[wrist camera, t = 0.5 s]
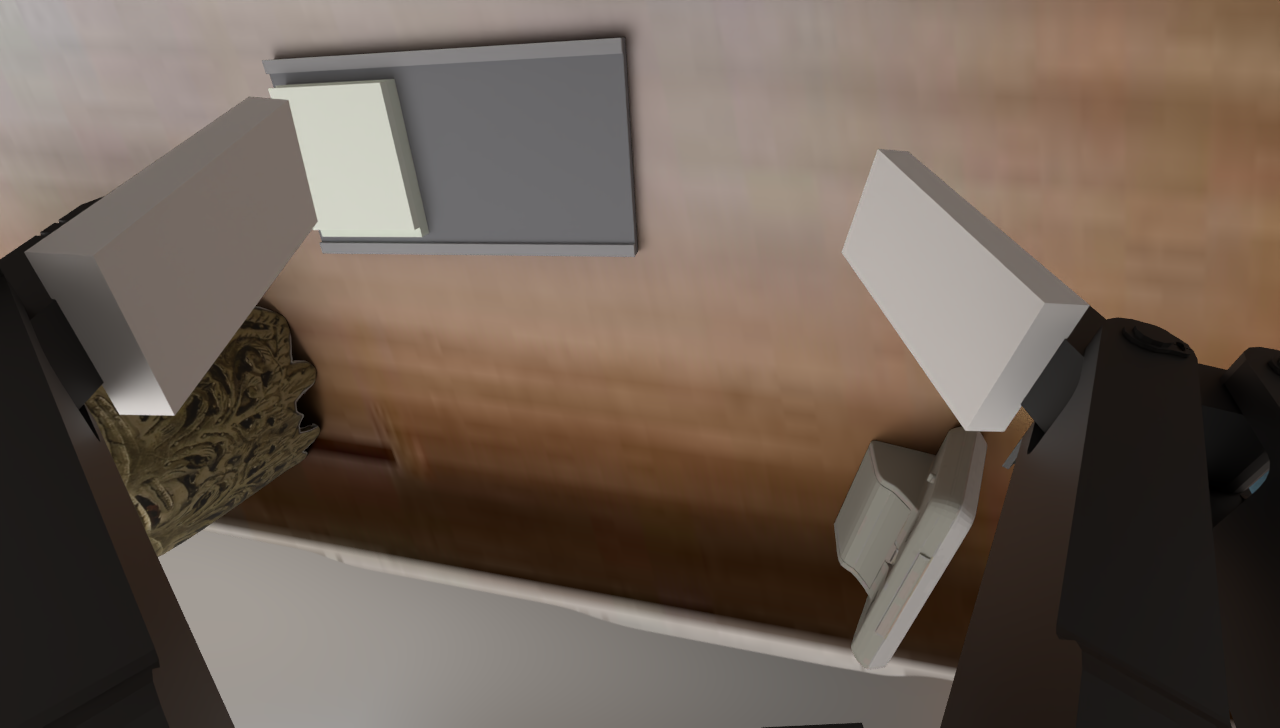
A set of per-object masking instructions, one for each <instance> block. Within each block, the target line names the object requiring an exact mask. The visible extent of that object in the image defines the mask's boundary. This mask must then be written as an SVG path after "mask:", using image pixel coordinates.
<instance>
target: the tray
mask: <svg viewBox="0 0 1280 728" xmlns="http://www.w3.org/2000/svg"><path fill="white" fill-rule="evenodd" d="M262 63H263V66H264V69H265V72H266V74H270V77H271V80H272V83H273V87H274V88H276V87H275V86H279V85H289V84H308V83H327V82H345V81H364V80H383V79H395V84H396V88H397V93H398V97H399V101H400V106H401V110H402V115H403V119H404V124H405V128H406V132H407V137H408V141H409V146H410V150H411V155H412V159H413V163H414V168H415V172H416V177H417V181H418V186H419V190H420V194H421V199H422V203H423V208H424V212H425V217H426V221H427V225H428V230H429V233H428V234H427V235H425V236H423V237H322V234H321V231H320V230H319V233H320V237H321V240H322V242H321V243H320V246H321V249H322V252H323V253H337V254H428V255H520V256H611V257H635V255H636V254H637V252H638V245H637V229H636V212H635V195H634V178H633V161H632V145H631V128H630V111H629V94H628V78H627V61H626V44H625V37H624V38H608V39H592V40H577V41H561V42H545V43H529V44H513V45H497V46H482V47H466V48H450V49H434V50H418V51H403V52H387V53H371V54H355V55H339V56H324V57H308V58H292V59H276V60H262Z"/></svg>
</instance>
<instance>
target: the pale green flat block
mask: <svg viewBox="0 0 1280 728" xmlns="http://www.w3.org/2000/svg"><path fill="white" fill-rule="evenodd" d="M275 87H276V88H269V89H268V90H269V93H270V96H271V98H272V99H284V100H289V104H290V109H291V113H292V117H293V121H294V125H295V129H296V133H297V137H298V142H299V146H300V150H301V154H302V158H303V162H304V166H305V171H306V175H307V179H308V183H309V187H310V191H311V195H312V199H313V204H314V208H315V212H316V216H317V220H318V222H317V223H316V225H315V226H314V227H313V230H320V231H321V234H322V237H423V236H425V235H427V234H428V233H429V230H428V225H427V221H426V217H425V212H424V208H423V203H422V199H421V194H420V190H419V186H418V181H417V177H416V172H415V168H414V163H413V159H412V155H411V150H410V146H409V141H408V137H407V132H406V128H405V124H404V119H403V115H402V110H401V106H400V101H399V97H398V93H397V88H396V84H395V79H383V80H364V81H345V82H327V83H308V84H289V85H279V86H275Z"/></svg>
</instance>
